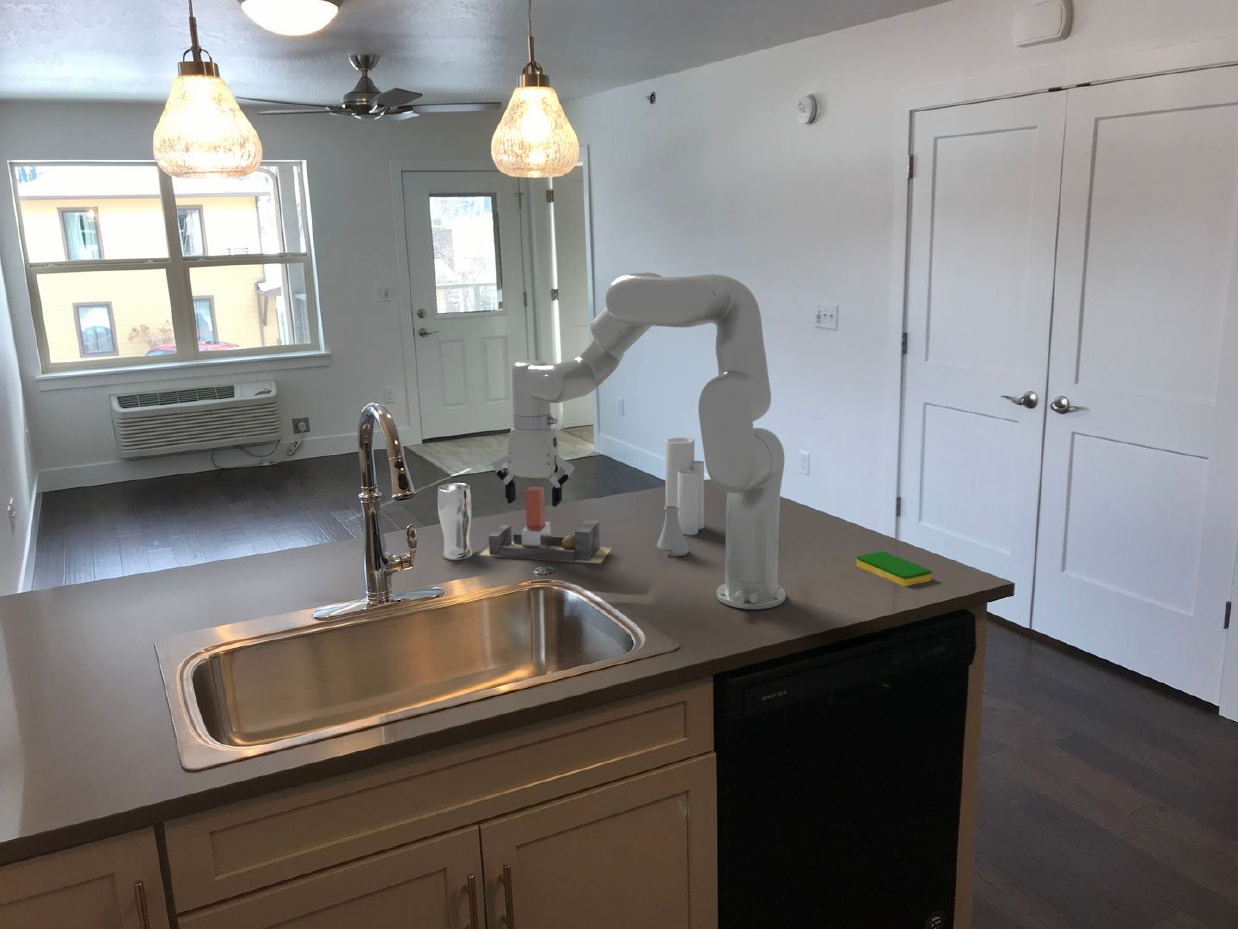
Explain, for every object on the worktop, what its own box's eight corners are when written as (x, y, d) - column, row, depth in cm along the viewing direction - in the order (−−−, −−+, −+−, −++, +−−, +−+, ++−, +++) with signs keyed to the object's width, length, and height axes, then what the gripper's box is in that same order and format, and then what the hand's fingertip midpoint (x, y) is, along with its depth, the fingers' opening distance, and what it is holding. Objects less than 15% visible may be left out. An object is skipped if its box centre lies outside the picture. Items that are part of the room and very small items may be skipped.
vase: (660, 523, 224) (659, 439, 220) (686, 519, 228) (686, 436, 223) (685, 536, 215) (685, 448, 210) (712, 531, 218) (713, 445, 213)
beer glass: (464, 562, 199) (460, 492, 196) (434, 559, 202) (430, 490, 198) (479, 552, 206) (476, 484, 202) (450, 549, 208) (446, 482, 204)
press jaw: (540, 555, 197) (538, 493, 194) (522, 553, 198) (519, 492, 195) (551, 544, 204) (549, 485, 201) (533, 543, 205) (530, 484, 202)
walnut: (576, 556, 198) (576, 538, 197) (560, 555, 198) (559, 537, 197) (581, 550, 201) (581, 533, 200) (565, 549, 202) (564, 532, 201)
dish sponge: (882, 561, 198) (882, 550, 197) (932, 582, 186) (933, 570, 185) (855, 567, 194) (855, 556, 194) (904, 588, 182) (905, 576, 182)
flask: (689, 558, 200) (690, 511, 198) (655, 558, 201) (654, 512, 198) (688, 546, 207) (688, 502, 205) (654, 547, 208) (654, 502, 205)
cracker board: (600, 570, 194) (599, 534, 192) (479, 562, 199) (477, 527, 198) (612, 554, 203) (611, 520, 201) (496, 547, 209) (494, 513, 207)
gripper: (578, 420, 197) (578, 501, 201) (498, 416, 201) (500, 495, 205) (567, 427, 190) (568, 511, 194) (485, 423, 193) (487, 505, 198)
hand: (533, 503), depth 199 cm, fingers open, 9 cm apart
